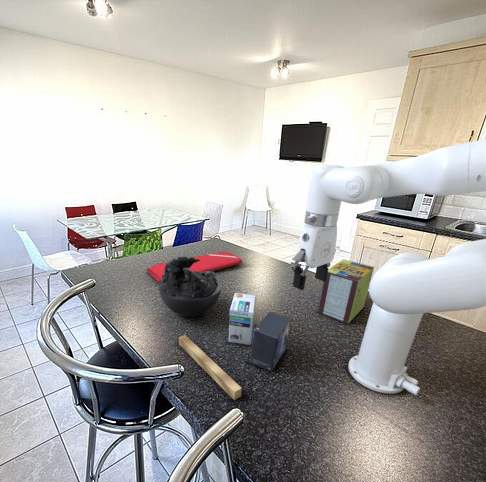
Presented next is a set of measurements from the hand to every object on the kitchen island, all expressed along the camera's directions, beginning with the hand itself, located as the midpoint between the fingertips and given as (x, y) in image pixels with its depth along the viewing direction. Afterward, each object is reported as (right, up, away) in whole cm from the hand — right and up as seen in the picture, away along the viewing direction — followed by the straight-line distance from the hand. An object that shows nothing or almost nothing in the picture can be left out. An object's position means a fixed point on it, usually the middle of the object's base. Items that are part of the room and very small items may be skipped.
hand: (309, 283), depth 78 cm
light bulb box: (-17, -15, +10) cm, 25 cm away
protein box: (+19, -10, +24) cm, 32 cm away
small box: (-11, -20, 0) cm, 23 cm away
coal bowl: (-33, -10, +20) cm, 40 cm away
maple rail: (-27, -21, -4) cm, 35 cm away
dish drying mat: (-33, +5, +54) cm, 64 cm away
